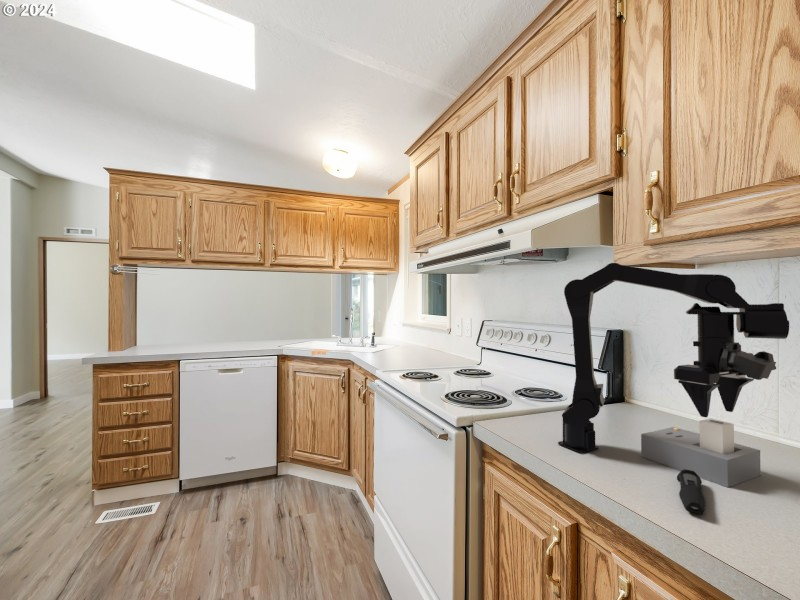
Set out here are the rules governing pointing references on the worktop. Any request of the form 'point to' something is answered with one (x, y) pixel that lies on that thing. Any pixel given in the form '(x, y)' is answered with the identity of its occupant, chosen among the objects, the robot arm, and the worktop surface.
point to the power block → (700, 456)
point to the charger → (717, 436)
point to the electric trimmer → (691, 491)
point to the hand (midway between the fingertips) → (717, 414)
